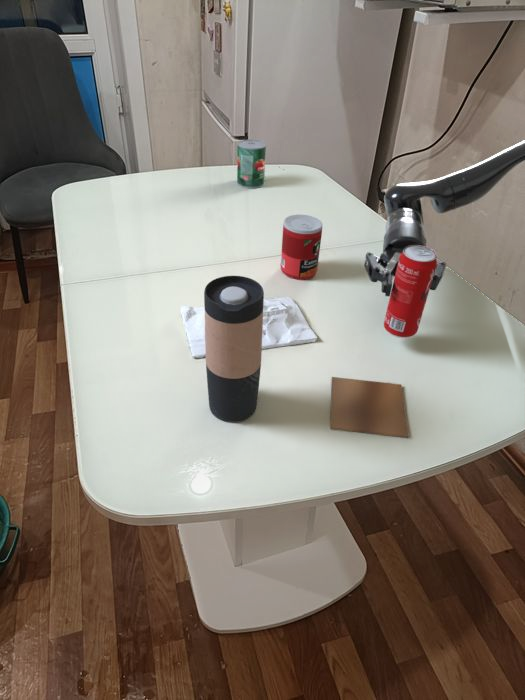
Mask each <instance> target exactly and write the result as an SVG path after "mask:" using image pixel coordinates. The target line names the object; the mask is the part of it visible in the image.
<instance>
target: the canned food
mask: <svg viewBox="0 0 525 700" xmlns="http://www.w3.org/2000/svg"><path fill="white" fill-rule="evenodd" d="M322 236H323V221H321V220H320V219H319V218H317V217H316V216H312V215H308V214H292V215H289V216H287V217H285V218H284V220H283V224H282V237H281V252H280V270H281V272H282V273H283V274H284V275H285V276H286V277H288V278H291V279H294V280H309V279H311V278H314V276H316V274H317V271H318V268H319V260H320V259H319V258H320V252H321V251H320V250H321V245H322V243H321V242H322Z"/></svg>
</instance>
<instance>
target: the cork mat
mask: <svg viewBox="0 0 525 700" xmlns="http://www.w3.org/2000/svg"><path fill="white" fill-rule="evenodd" d="M330 383H331V384H330V385H331V388H330V389H331V390H330V397H331V398H330V430H334V431H335V430H336V431H343V432H354V433H360V434H361V433H362V434H371V435H379V436H386V437H387V436H388V437H396V438H404V439H409V437H410V435H409V427H408V421H407V420H408V419H407V414H406V408H405V407H406V406H405V399H404V392H403V385H402V383H392V382H384V381H383V382H382V381H375V380H374V381H373V380H365V379H357V378H356V379H355V378H346V377H339V376H338V377H337V376H331V382H330Z"/></svg>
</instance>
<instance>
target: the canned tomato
mask: <svg viewBox="0 0 525 700" xmlns="http://www.w3.org/2000/svg"><path fill="white" fill-rule="evenodd" d="M236 149H237V156H236V157H237V159H236V160H237V161H236V163H237V164H236V165H237V167H236V174H237V175H236V184H237V185H238V186H239V187H241V188H244V187H245V188H244V189H258V188H261V187H263V186H264V185H265V172H266V153H267V152H266V151H267V150H266V149H267V144H266V143H265V141H263V140H259V139H242V140H239V141H238V142H237V148H236Z"/></svg>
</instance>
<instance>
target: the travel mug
mask: <svg viewBox="0 0 525 700" xmlns="http://www.w3.org/2000/svg"><path fill="white" fill-rule="evenodd" d="M264 297H265V291H264V288H263V286H262V285H261V284H260V283H259V282H258V281H256V280H255V279H253V278H251V277H247V276H243V275H225V276H224V275H223V276H219V277H217V278H214V279H212V280H211V281H209V282H208V283H207V284H206V285H205V287H204V293H203V303H204V306H203V307H205V350H206V357H205V369H206V370H205V371H206V382H207V397H208V405H209V406H208V407H209V410H210V412H211V414H212V415H213V416H214V418H217V419H218V420H220V421H223V422H226V423H240V422H244V421H246V420H248V419H249V418H251V417H252V416H253V415H254V414H255V412H256V410H257V408H258V401H259V389H260V380H261V379H260V378H261V368H262V352H263V351H262V350H263V349H262V328H263V303H264V300H265V298H264Z"/></svg>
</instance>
